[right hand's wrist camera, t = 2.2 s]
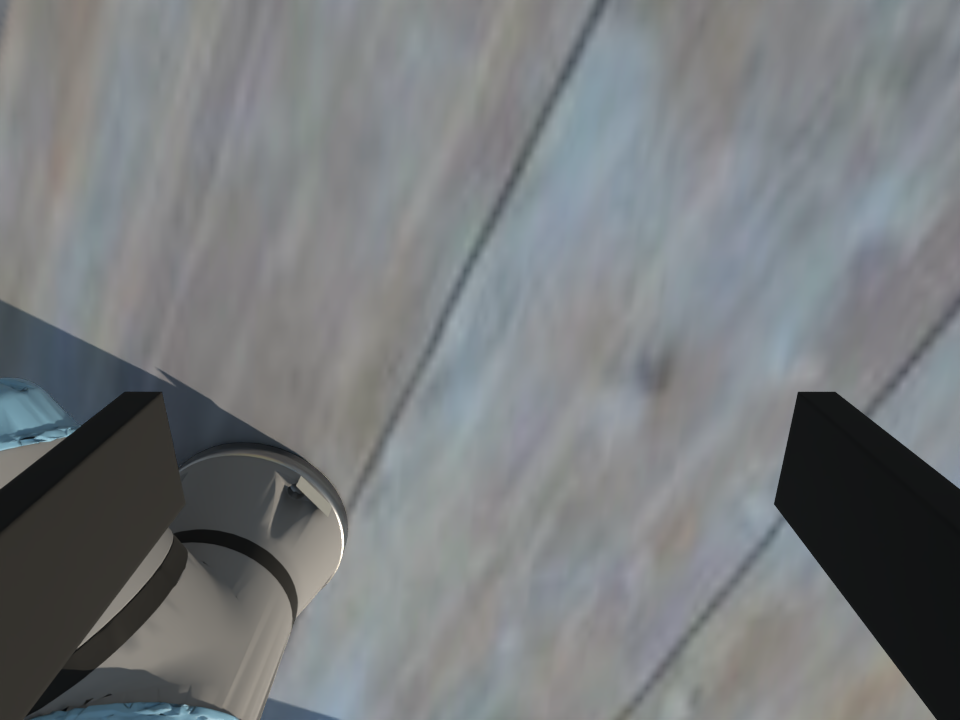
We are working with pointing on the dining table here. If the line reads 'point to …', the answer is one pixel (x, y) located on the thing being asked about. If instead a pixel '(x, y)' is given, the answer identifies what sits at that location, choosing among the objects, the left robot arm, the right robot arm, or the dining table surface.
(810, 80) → the dining table surface
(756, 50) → the dining table surface
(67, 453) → the right robot arm
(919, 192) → the dining table surface
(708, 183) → the dining table surface
